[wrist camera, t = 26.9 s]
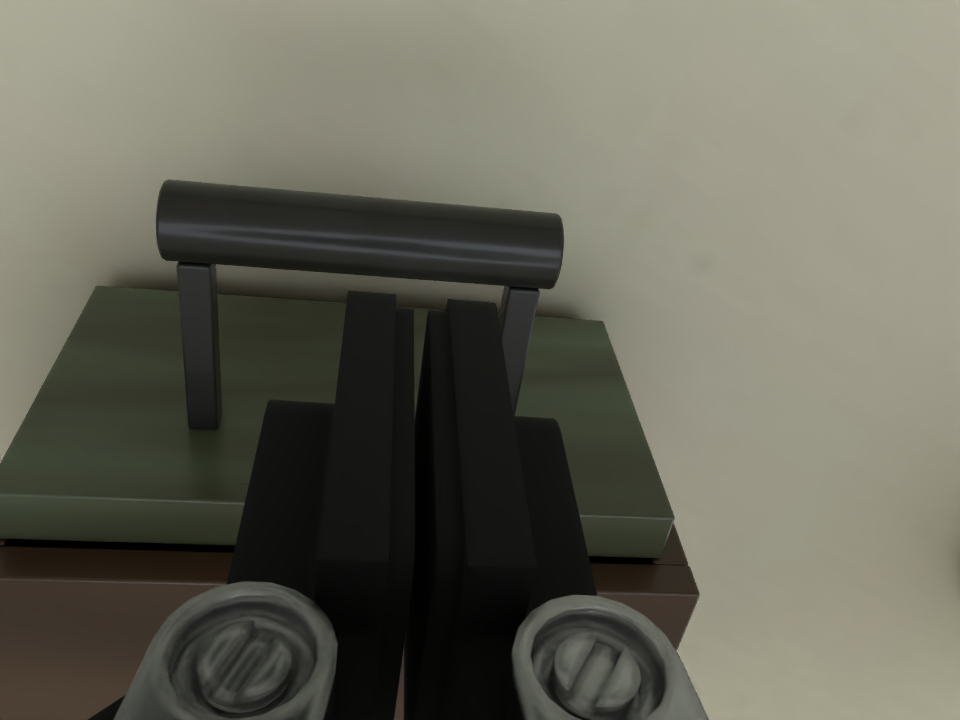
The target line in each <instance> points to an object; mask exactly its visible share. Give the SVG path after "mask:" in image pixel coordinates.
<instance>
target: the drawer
mask: <svg viewBox="0 0 960 720" xmlns="http://www.w3.org/2000/svg"><path fill="white" fill-rule="evenodd" d="M156 237H157V245H158V249H159V253H160V255H161V257H162V259H164V260H166V261H178V263H177V280H178V291H165V290H151V289H137V288H122V287H108V286H96V287H95V289H94V291H93V293H92V295H91V296H90V298H89V300H88V302H87V304H86V306H85V307H84V309H83V311H82V313H81V315H80V317H79V319H78V320H77V322H76V324H75V326H74V328H73V330H72V332H71V333H70V335H69V337H68V339H67V341H66V343H65V345H64V346H63V348H62V350H61V352H60V354H59V356H58V358H57V359H56V361H55V363H54V365H53V367H52V369H51V370H50V372H49V374H48V376H47V378H46V380H45V382H44V383H43V385H42V387H41V389H40V391H39V393H38V395H37V396H36V398H35V400H34V402H33V404H32V406H31V408H30V409H29V411H28V413H27V415H26V417H25V419H24V421H23V422H22V424H21V426H20V428H19V430H18V432H17V433H16V435H15V437H14V439H13V441H12V443H11V445H10V446H9V448H8V450H7V452H6V454H5V456H4V458H3V459H2V461H1V463H0V539H31V540H65V543H64V546H63V548H93V549H128V550H163V551H197V552H232V553H234V549H235V545H236V540H237V536H238V531H239V527H240V522H241V518H242V513H243V509H244V504H245V500H246V495H247V491H248V486H249V482H250V477H251V473H252V468H253V464H254V459H255V455H256V450H257V446H258V441H259V437H260V432H261V428H262V423H263V419H264V414H265V410H266V407H267V403H268V401H269V400H270V399H272V400H287V401H302V402H317V403H332V404H335V397H336V388H337V380H338V371H339V363H340V354H341V346H342V337H343V329H344V320H345V312H346V303H337V302H322V301H308V300H294V299H280V298H265V297H251V296H237V295H222V294H217V278H216V264H220V265H233V266H247V267H260V268H273V269H287V270H300V271H313V272H327V273H340V274H354V275H367V276H380V277H394V278H407V279H420V280H434V281H447V282H461V283H474V284H487V285H501V286H504V290H503V296H502V302H501V308H500V313H499V314H498V319H499V325H500V332H501V338H502V345H503V351H504V357H505V364H506V370H507V377H508V383H509V390H510V396H511V402H512V409H513V415H514V416H524V417H539V418H554V419H555V420H556V421H557V422H558V424H559V427H560V430H561V434H562V439H563V443H564V448H565V452H566V457H567V461H568V466H569V470H570V475H571V479H572V484H573V488H574V493H575V497H576V502H577V507H578V511H579V516H580V520H581V525H582V529H583V534H584V538H585V543H586V547H587V552H588V556H589V561H590V563H603V559H602V556H603V557H637V558H660V557H661V555H662V552H663V550H664V547H665V544H666V541H667V539H668V536H669V533H670V530H671V528H672V525H673V522H674V519H675V517H674V514H673V511H672V509H671V506H670V503H669V501H668V498H667V495H666V492H665V490H664V487H663V484H662V481H661V479H660V476H659V473H658V470H657V468H656V465H655V462H654V459H653V457H652V454H651V451H650V449H649V446H648V443H647V440H646V438H645V435H644V432H643V429H642V427H641V424H640V421H639V418H638V416H637V413H636V410H635V407H634V405H633V402H632V399H631V396H630V394H629V391H628V388H627V386H626V383H625V380H624V377H623V375H622V372H621V369H620V366H619V364H618V361H617V358H616V355H615V353H614V350H613V347H612V344H611V342H610V339H609V336H608V334H607V331H606V328H605V325H604V323H603V322H602V321H594V320H580V319H565V318H551V317H537V316H535V313H536V308H537V303H538V298H539V293H540V292H539V289H538V288H541V289H551V288H553V287H554V286H555V284H556V282H557V280H558V277H559V274H560V270H561V265H562V259H563V248H564V230H563V223H562V219H561V217H560V215H558V214H556V213H544V212H533V211H522V210H510V209H499V208H487V207H476V206H465V205H453V204H442V203H430V202H419V201H407V200H396V199H385V198H373V197H362V196H350V195H339V194H328V193H316V192H305V191H293V190H282V189H271V188H259V187H248V186H236V185H225V184H214V183H202V182H191V181H179V180H166V181H164V183H163V184H162V187H161V189H160V193H159V197H158V203H157V212H156ZM399 308H408V307H399ZM412 309H414V402H415V413H416V405H417V397H418V388H419V380H420V371H421V363H422V355H423V346H424V338H425V330H426V321H427V315H428V311H429V310H436V311H445V310H437V309H423V308H412Z"/></svg>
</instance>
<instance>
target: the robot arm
mask: <svg viewBox="0 0 960 720" xmlns="http://www.w3.org/2000/svg"><path fill="white" fill-rule="evenodd" d="M403 650H404V720H709V719H708V717H707V714H706V712H705V710H704V708H703V706H702V704H701V702H700V699H699V697H698V695H697V693H696V691H695V689H694V686H693V684H692V682H691V680H690V678H689V676H688V674H687V671H686V669H685V667H684V665H683V663H682V661H681V659H680V656H679V655H678V653H677V652H676V650H675V648H674V647H673V645H672V644H671V642H670V641H669V639H668V638H667V636H666V635H665V633H663V632H662V631H661V630H660V629H659V628H658V627H657V626H656V625H655V624H654V623H653V622H652V621H650V620H649V619H648V618H647V617H646V616H644V615H643V614H641V613H639V612H637V611H636V610H634V609H632V608H630V607H628V606H627V605H625V604H623V603H620V602H617V601H613V600H610V599H607V598H603V597H600V596H597V592H596V588H595V583H594V579H593V574H592V570H591V565H590V561H589V556H588V552H587V547H586V543H585V538H584V534H583V529H582V525H581V520H580V516H579V511H578V507H577V502H576V497H575V493H574V488H573V484H572V479H571V475H570V470H569V466H568V461H567V457H566V452H565V448H564V443H563V439H562V434H561V430H560V427H559V424H558V422H557V421H556V420H555V419H554V418H539V417H524V416H514V415H513V409H512V402H511V396H510V390H509V383H508V377H507V370H506V364H505V357H504V351H503V345H502V338H501V332H500V325H499V319H498V312H497V307H496V304H495V303H490V302H478V301H466V300H454V299H448V301H447V304H446V309H445V311H436V310H429V311H428V315H427V321H426V330H425V338H424V346H423V355H422V363H421V371H420V380H419V388H418V397H417V405H416V413H415V402H414V309H412V308H399V307H396V295H395V294H383V293H371V292H359V291H348V295H347V303H346V312H345V320H344V329H343V337H342V346H341V354H340V363H339V371H338V380H337V388H336V397H335V404H332V403H317V402H302V401H287V400H272V399H270V400H269V401H268V403H267V407H266V410H265V414H264V419H263V423H262V428H261V432H260V437H259V441H258V446H257V450H256V455H255V459H254V464H253V468H252V473H251V477H250V482H249V486H248V491H247V495H246V500H245V504H244V509H243V513H242V518H241V522H240V527H239V531H238V536H237V540H236V545H235V549H234V554H233V558H232V563H231V567H230V572H229V576H228V581H227V585H223V586H218V587H215V588H212V589H210V590H208V591H206V592H204V593H202V594H199V595H197V596H195V597H193V598H191V599H189V600H188V601H187V602H185V603H184V604H183V605H182V606H180V607H179V608H178V609H177V610H175V611H174V612H173V613H172V614H170V615H169V616H168V617H167V619H166V620H165V622H164V623H163V624H162V626H161V627H160V629H159V630H158V632H157V633H156V634H155V636H154V637H153V639H152V641H151V643H150V645H149V647H148V649H147V651H146V653H145V655H144V658H143V660H142V662H141V664H140V666H139V668H138V670H137V672H136V674H135V676H134V678H133V680H132V682H131V684H130V687H129V689H128V691H127V693H126V695H124V696H123V697H121V698H120V699H118V700H117V701H115V702H114V703H112V704H111V705H109V706H108V707H106V708H105V709H103V710H102V711H100V712H98V713H97V714H95V715H94V716H92V717H91V718H89V719H88V720H394V716H395V709H396V701H397V694H398V686H399V679H400V672H401V664H402V657H403Z"/></svg>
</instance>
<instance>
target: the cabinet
mask: <svg viewBox="0 0 960 720" xmlns="http://www.w3.org/2000/svg"><path fill="white" fill-rule="evenodd" d="M64 543H65V540H31V539H0V720H88V719H89V718H91V717H92V716H94V715H95V714H97V713H98V712H100V711H102V710H103V709H105V708H106V707H108V706H109V705H111V704H112V703H114V702H115V701H117V700H118V699H120V698H121V697H123V696H124V695H126V693H127V691H128V689H129V687H130V684H131V682H132V680H133V678H134V676H135V674H136V672H137V670H138V668H139V666H140V664H141V662H142V660H143V658H144V655H145V653H146V651H147V649H148V647H149V645H150V643H151V641H152V639H153V637H154V636H155V634H156V633H157V632H158V630H159V629H160V627H161V626H162V624H163V623H164V622H165V620H166V619H167V617H168V616H169V615H170V614H172V613H173V612H174V611H175V610H177V609H178V608H179V607H180V606H182V605H183V604H184V603H185V602H187V601H188V600H189V599H191V598H193V597H195V596H197V595H199V594H202V593H204V592H206V591H208V590H210V589H212V588H215V587H218V586H223V585H227V581H228V576H229V572H230V567H231V563H232V558H233V554H234V553H232V552H197V551H163V550H128V549H93V548H63V546H64ZM602 559H603V563H590V565H591V570H592V574H593V579H594V583H595V588H596V592H597V596H600V597H603V598H607V599H610V600H613V601H617V602H620V603H623V604H625V605H627V606H628V607H630V608H632V609H634V610H636V611H637V612H639V613H641V614H643V615H644V616H646V617H647V618H648V619H649V620H650V621H652V622H653V623H654V624H655V625H656V626H657V627H658V628H659V629H660V630H661V631H662V632H663V633H665V635H666V636H667V638H668V639H669V641H670V642H671V644H672V645H673V647H674V648H675V650H676V651H677V649H678V646H679V644H680V642H681V639H682V637H683V634H684V632H685V630H686V627H687V625H688V622H689V620H690V617H691V615H692V613H693V610H694V608H695V605H696V603H697V601H698V598H699V595H700V594H699V591H698V588H697V585H696V582H695V580H694V577H693V574H692V571H691V569H690V567H689V566H688V562H687V559H686V556H685V553H684V551H683V548H682V545H681V542H680V539H679V537H678V534H677V531H676V528H675V526H674V523H673V525H672V528H671V530H670V533H669V536H668V539H667V541H666V544H665V547H664V550H663V552H662V555H661V557H660V558H637V557H603V556H602ZM394 720H404V650H403V657H402V664H401V672H400V679H399V686H398V694H397V701H396V709H395V716H394Z"/></svg>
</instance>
